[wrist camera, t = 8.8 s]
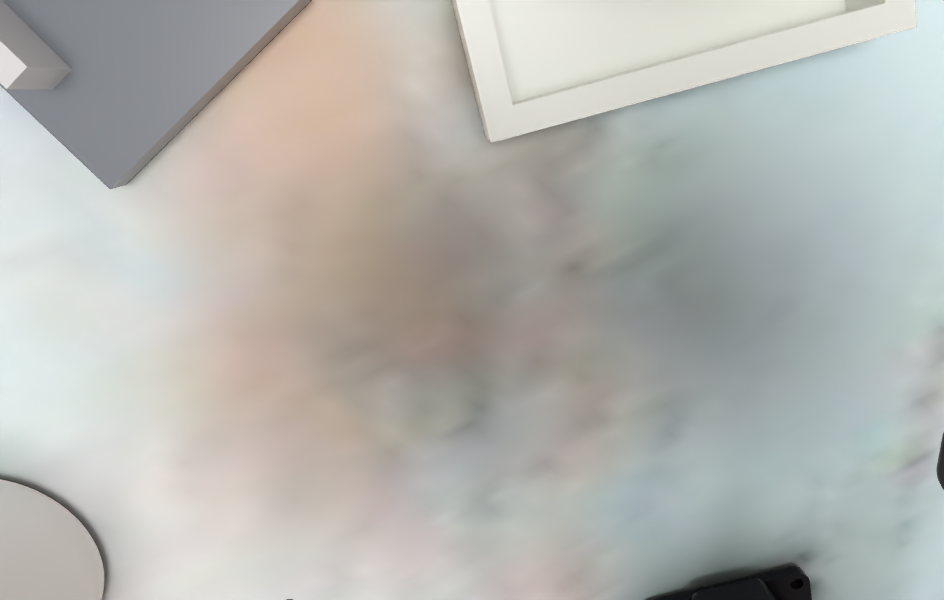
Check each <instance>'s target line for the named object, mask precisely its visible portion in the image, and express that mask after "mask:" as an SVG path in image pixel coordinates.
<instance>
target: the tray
mask: <svg viewBox="0 0 944 600" xmlns="http://www.w3.org/2000/svg"><path fill="white" fill-rule="evenodd" d="M451 1H452V5H453V9H454V13H455V17H456V21H457V25H458V29H459V33H460V37H461V41H462V45H463V49H464V53H465V57H466V61H467V65H468V69H469V73H470V77H471V81H472V85H473V90H474V94H475V98H476V102H477V106H478V110H479V114H480V118H481V122H482V126H483V130H484V134H485V137H486V138H487V139H488V140H489V141H490V142H491V143H493V142H497V141H500V140H504V139H508V138H511V137H515V136H519V135H522V134H526V133H530V132H533V131H537V130H541V129H544V128H548V127H552V126H555V125H559V124H563V123H566V122H570V121H574V120H577V119H581V118H585V117H588V116H592V115H596V114H600V113H603V112H607V111H611V110H614V109H618V108H622V107H625V106H629V105H633V104H636V103H640V102H644V101H647V100H651V99H655V98H658V97H662V96H666V95H669V94H673V93H677V92H680V91H684V90H688V89H691V88H695V87H699V86H702V85H706V84H710V83H713V82H717V81H721V80H724V79H728V78H732V77H735V76H739V75H743V74H746V73H750V72H754V71H757V70H761V69H765V68H768V67H772V66H776V65H779V64H783V63H787V62H790V61H794V60H798V59H801V58H805V57H809V56H812V55H816V54H820V53H823V52H827V51H831V50H834V49H838V48H842V47H845V46H849V45H853V44H857V43H860V42H864V41H868V40H871V39H875V38H879V37H882V36H886V35H890V34H893V33H897V32H901V31H904V30H908V29H912V28H915V27H917V17H916V0H451Z"/></svg>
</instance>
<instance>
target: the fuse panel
mask: <svg viewBox="0 0 944 600" xmlns="http://www.w3.org/2000/svg"><path fill="white" fill-rule="evenodd" d="M310 1H311V0H0V86H1V87H2V88H3V89H5V90H6V91H7V92H8V93H9V94H10V95H11V96H12V97H13V98H14V99H15V100H16V101H17V102H18V103H19V104H20V105H21V106H23V107H24V108H25V109H26V110H27V111H28V112H29V113H30V114H31V115H32V116H33V117H34V118H35V119H36V120H37V121H38V122H39V123H40V124H42V125H43V126H44V127H45V128H46V129H47V130H48V131H49V132H50V133H51V134H52V135H53V136H54V137H55V138H56V139H57V140H58V141H60V142H61V143H62V144H63V145H64V146H65V147H66V148H67V149H68V150H69V151H70V152H71V153H72V154H73V155H74V156H75V157H76V158H77V159H79V160H80V161H81V162H82V163H83V164H84V165H85V166H86V167H87V168H88V169H89V170H90V171H91V172H92V173H93V174H94V175H95V176H96V177H98V178H99V179H100V180H101V181H102V182H103V183H104V184H105V185H106V186H107V187H108V188H109V189H113V188H116V187H120V186H123V185H126V184H127V183H128V182H129V181H130V180H131V179H132V178H133V177H134V176H135V175H136V174H137V173H138V172H139V171H140V170H141V169H142V168H143V167H144V166H145V165H146V164H147V163H148V162H149V161H150V160H151V159H152V158H153V157H154V156H155V155H156V154H157V153H158V152H159V151H160V150H161V149H162V148H163V147H164V146H165V145H166V144H167V143H168V142H169V141H170V140H172V139H173V138H174V137H175V136H176V135H177V134H178V133H179V132H180V131H181V130H182V129H183V128H184V127H185V126H186V125H187V124H188V123H189V122H190V121H191V120H192V119H193V118H194V117H195V116H196V115H197V114H198V113H199V112H200V111H201V110H202V109H203V108H204V107H205V106H206V105H207V104H208V103H209V102H210V101H211V100H212V99H213V98H214V97H215V96H216V95H217V94H218V93H219V92H220V91H221V90H222V89H223V88H224V87H225V86H226V85H227V84H228V83H229V82H230V81H231V80H232V79H233V78H234V77H235V76H236V75H237V74H238V73H239V72H240V71H241V70H242V69H243V68H244V67H245V66H246V65H247V64H248V63H249V62H250V61H251V60H252V59H253V58H254V57H255V56H256V55H257V54H258V53H259V52H260V51H261V50H262V49H263V48H264V47H265V46H266V45H267V44H268V43H269V42H270V41H271V40H272V39H273V38H274V37H275V36H276V35H277V34H278V33H279V32H280V31H281V30H282V29H283V28H284V27H285V26H286V25H287V24H288V23H289V22H290V21H291V20H292V19H293V18H294V17H295V16H296V15H297V14H298V13H299V12H300V11H301V10H302V9H303V8H304V7H305V6H306V5H307V4H308V3H309V2H310Z"/></svg>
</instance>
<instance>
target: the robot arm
mask: <svg viewBox="0 0 944 600" xmlns="http://www.w3.org/2000/svg"><path fill="white" fill-rule="evenodd" d="M937 477H938V480H939V482H940V484H941V486H942V488H943V489H944V433H943V436H942V442H941V447H940V453H939V458H938V464H937ZM795 579H796V580H795ZM793 580H795V581H793ZM792 581H793V582H792ZM287 600H293V599H287ZM654 600H812V597H811V588H810V581H809V578H808V576H807V575H806V574H805V572H804V571H803V570H802V569H801V568H800V567H796V566H792V567H787V568H783V569H779V570H775V571H770V572H766V573H762V574H758V575H754V576H750V577H746V578H741V579H737V580H733V581H729V582H725V583H721V584H717V585H712V586H708V587H704V588H700V589H696V590H692V591H688V592H683V593H679V594H675V595H671V596H667V597H663V598H659V599H654Z"/></svg>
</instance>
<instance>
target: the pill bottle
mask: <svg viewBox="0 0 944 600" xmlns="http://www.w3.org/2000/svg"><path fill="white" fill-rule="evenodd" d="M103 590H104V569H103V563H102V559H101V556H100V553H99V551H98V548H97V546H96V544H95V542H94V540H93V539H92V537H91V535H90V534H89V533H88V531H87V530H86V528H85V527H84V526H83V525H82V524H81V522H80V521H79V520H78V519H77V518H76V517H75V516H74V515H73V514H72V513H70V512H69V511H68V510H67V509H66V508H64V507H63V506H62V505H60V504H59V503H58V502H56V501H55V500H53V499H51V498H50V497H48V496H46V495H44V494H42V493H40V492H38V491H36V490H34V489H32V488H29V487H27V486H24V485H21V484H18V483H14V482H10V481H6V480H1V479H0V600H101V599H102V595H103Z"/></svg>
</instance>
